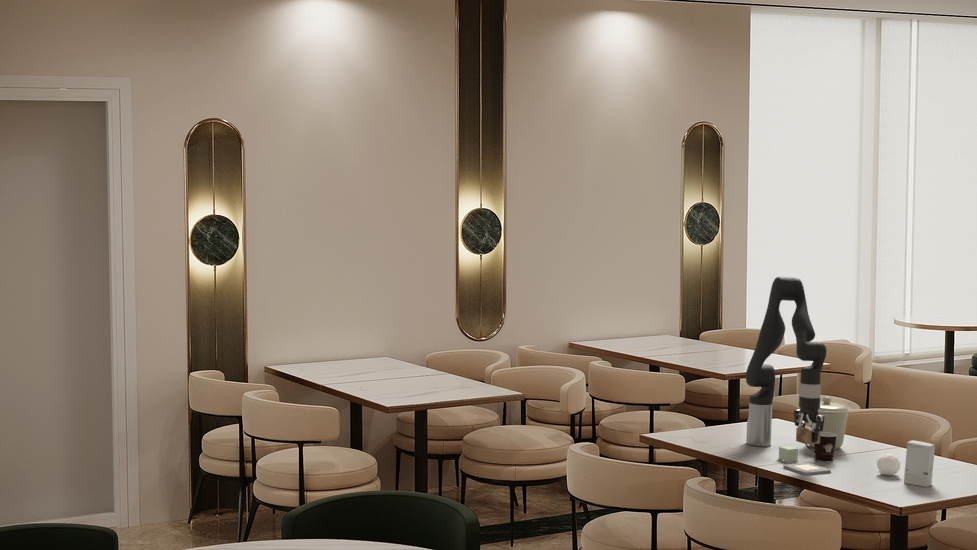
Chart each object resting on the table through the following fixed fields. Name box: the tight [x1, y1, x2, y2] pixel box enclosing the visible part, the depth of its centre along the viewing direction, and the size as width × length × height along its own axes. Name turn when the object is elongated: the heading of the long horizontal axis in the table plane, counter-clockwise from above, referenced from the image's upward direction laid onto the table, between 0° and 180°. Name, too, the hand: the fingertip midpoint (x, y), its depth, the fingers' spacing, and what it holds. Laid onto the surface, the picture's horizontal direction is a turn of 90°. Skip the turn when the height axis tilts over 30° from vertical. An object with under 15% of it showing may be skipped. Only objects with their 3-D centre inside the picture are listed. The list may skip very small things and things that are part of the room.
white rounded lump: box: [876, 453, 901, 476], centre depth 373 cm, size 8×8×12 cm
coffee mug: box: [804, 432, 837, 463], centre depth 394 cm, size 12×9×10 cm
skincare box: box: [903, 440, 936, 488], centre depth 359 cm, size 8×6×15 cm
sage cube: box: [778, 445, 799, 463], centre depth 391 cm, size 5×5×5 cm
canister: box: [805, 396, 851, 451], centre depth 415 cm, size 18×18×21 cm
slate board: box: [782, 462, 832, 476], centre depth 376 cm, size 12×12×1 cm
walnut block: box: [795, 426, 820, 446], centre depth 375 cm, size 6×6×5 cm
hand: (808, 440), depth 375 cm, fingers closed on walnut block, 6 cm apart
